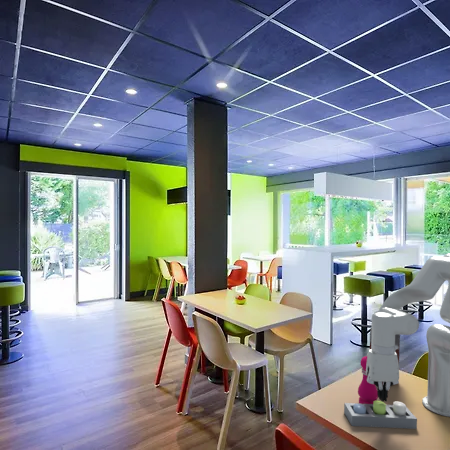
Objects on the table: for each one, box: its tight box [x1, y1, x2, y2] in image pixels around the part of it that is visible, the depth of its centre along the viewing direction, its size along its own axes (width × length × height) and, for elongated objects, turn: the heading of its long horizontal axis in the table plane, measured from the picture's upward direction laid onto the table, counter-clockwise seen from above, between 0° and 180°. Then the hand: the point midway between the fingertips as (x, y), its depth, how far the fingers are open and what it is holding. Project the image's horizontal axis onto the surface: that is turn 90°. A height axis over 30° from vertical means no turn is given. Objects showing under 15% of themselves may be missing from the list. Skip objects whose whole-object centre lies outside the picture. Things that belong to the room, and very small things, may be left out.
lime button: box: [373, 399, 387, 415], centre depth 117 cm, size 4×4×4 cm
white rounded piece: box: [392, 400, 407, 416], centre depth 116 cm, size 4×4×4 cm
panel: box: [343, 402, 418, 430], centre depth 117 cm, size 22×8×4 cm, turn 88°
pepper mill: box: [357, 352, 379, 404], centre depth 127 cm, size 7×7×20 cm
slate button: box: [353, 403, 366, 414], centre depth 117 cm, size 4×4×4 cm
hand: (382, 399), depth 117 cm, fingers closed
